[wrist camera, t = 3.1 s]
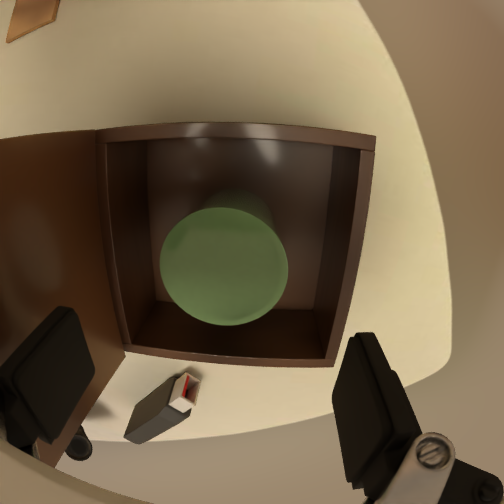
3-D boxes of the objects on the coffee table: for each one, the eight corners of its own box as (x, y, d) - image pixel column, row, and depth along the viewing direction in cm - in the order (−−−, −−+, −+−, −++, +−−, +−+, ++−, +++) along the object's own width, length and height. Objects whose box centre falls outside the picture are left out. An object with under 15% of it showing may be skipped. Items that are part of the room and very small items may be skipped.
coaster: (22, -9, 12) (19, -10, 12) (70, -33, 12) (67, -35, 12) (8, 43, 15) (5, 42, 15) (55, 21, 15) (51, 19, 14)
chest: (342, 135, 19) (376, 135, 13) (319, 313, 25) (333, 367, 18) (141, 129, 19) (94, 130, 13) (152, 302, 25) (123, 351, 19)
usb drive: (122, 437, 26) (142, 448, 27) (175, 403, 23) (200, 417, 23) (134, 405, 31) (152, 416, 32) (186, 364, 27) (207, 378, 28)
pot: (189, 183, 20) (155, 205, 14) (284, 186, 20) (294, 211, 13) (191, 268, 23) (165, 320, 16) (277, 273, 22) (281, 329, 16)
